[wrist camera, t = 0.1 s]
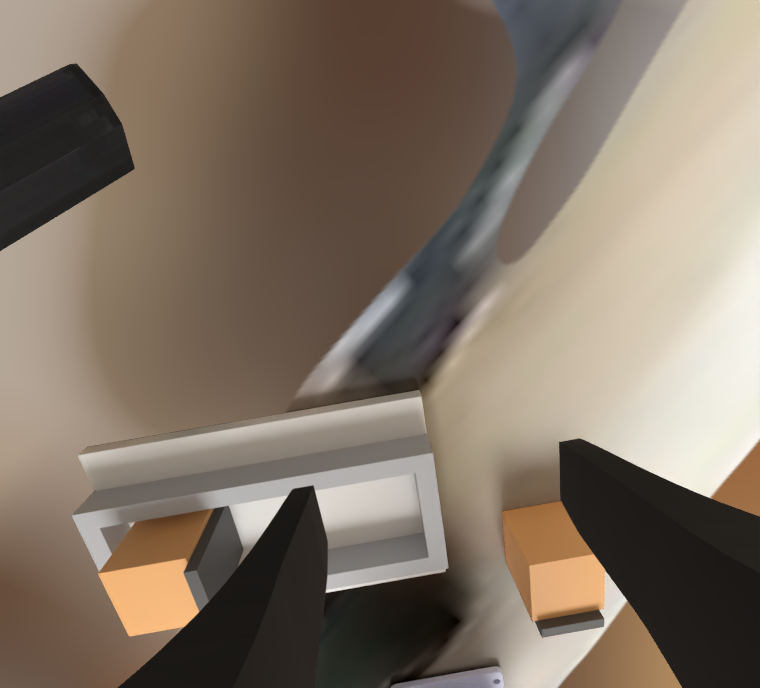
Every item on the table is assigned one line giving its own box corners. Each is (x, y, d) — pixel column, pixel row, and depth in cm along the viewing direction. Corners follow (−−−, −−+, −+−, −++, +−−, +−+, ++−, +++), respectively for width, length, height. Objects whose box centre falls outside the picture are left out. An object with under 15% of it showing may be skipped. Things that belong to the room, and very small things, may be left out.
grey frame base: (443, 560, 25) (465, 647, 20) (161, 610, 25) (112, 709, 20) (419, 390, 21) (438, 443, 16) (87, 446, 21) (5, 518, 16)
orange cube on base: (566, 499, 24) (611, 560, 20) (567, 557, 26) (609, 625, 22) (502, 511, 24) (533, 573, 20) (506, 568, 26) (536, 638, 22)
